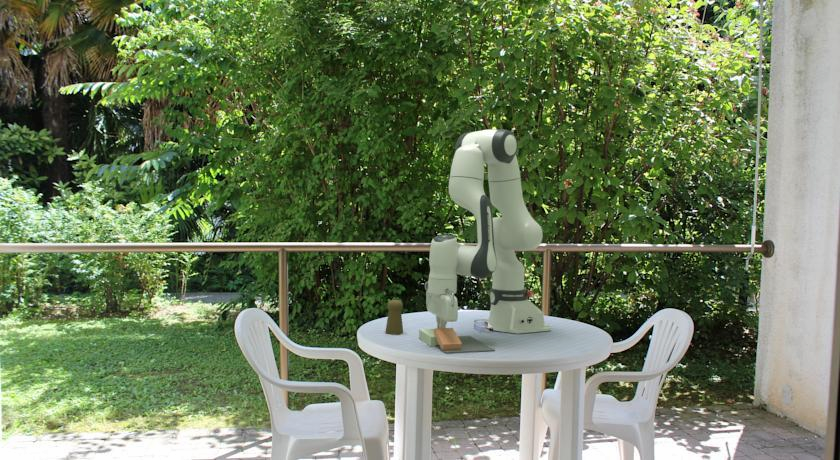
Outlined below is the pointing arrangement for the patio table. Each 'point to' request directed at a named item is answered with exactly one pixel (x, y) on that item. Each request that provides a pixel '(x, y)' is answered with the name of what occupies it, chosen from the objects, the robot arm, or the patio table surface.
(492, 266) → the robot arm
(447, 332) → the block
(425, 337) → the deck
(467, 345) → the mat
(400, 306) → the cork
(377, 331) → the patio table surface
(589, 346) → the patio table surface
